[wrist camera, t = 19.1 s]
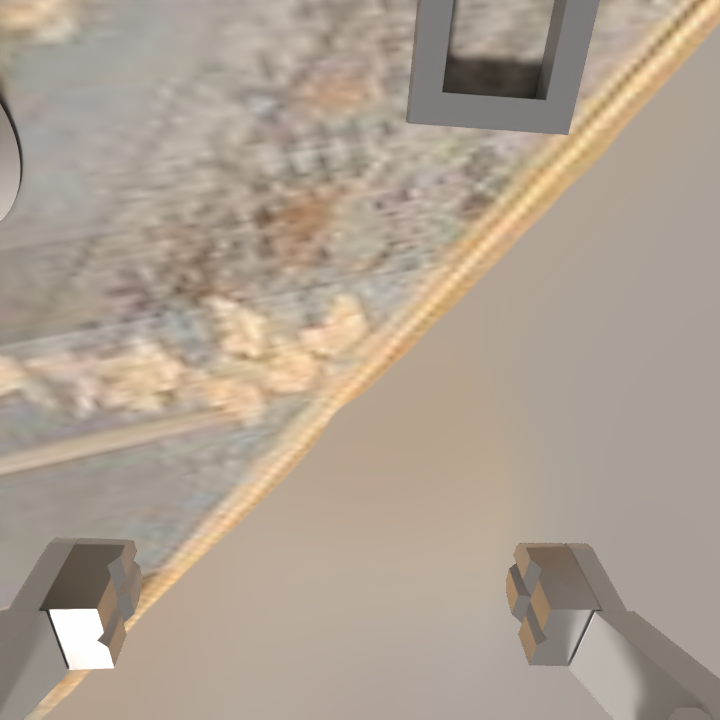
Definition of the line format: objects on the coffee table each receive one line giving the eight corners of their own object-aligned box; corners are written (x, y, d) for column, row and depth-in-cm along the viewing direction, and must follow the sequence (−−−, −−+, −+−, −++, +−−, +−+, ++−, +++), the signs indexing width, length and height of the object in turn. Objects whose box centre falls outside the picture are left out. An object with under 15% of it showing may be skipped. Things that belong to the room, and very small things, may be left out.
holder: (405, 121, 37) (408, 123, 35) (424, -72, 32) (429, -85, 30) (555, 132, 37) (568, 135, 35) (598, -58, 32) (615, -69, 30)
